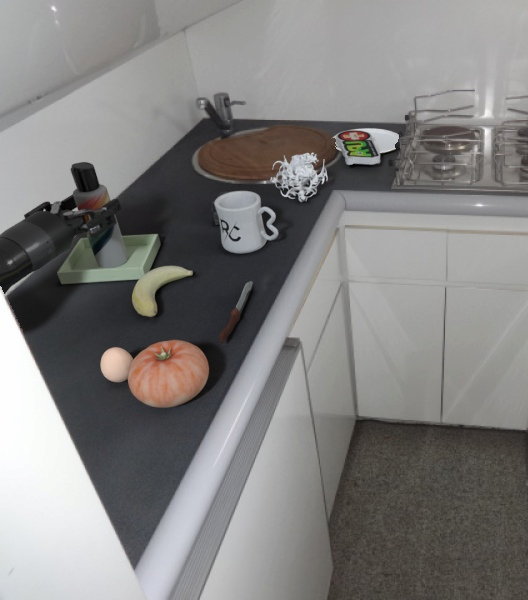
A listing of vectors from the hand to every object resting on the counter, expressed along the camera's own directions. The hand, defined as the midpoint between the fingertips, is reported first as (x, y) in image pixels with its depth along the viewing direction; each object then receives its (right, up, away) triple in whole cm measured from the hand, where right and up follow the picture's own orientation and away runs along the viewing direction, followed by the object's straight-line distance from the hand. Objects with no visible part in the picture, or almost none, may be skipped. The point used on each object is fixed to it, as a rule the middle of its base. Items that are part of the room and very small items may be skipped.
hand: (98, 201), depth 108 cm
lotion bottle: (0, -11, +6) cm, 13 cm away
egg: (+14, -30, -21) cm, 40 cm away
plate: (+47, +26, +59) cm, 80 cm away
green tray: (0, -11, +6) cm, 13 cm away
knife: (+28, -21, -8) cm, 36 cm away
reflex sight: (+17, +1, +24) cm, 29 cm away
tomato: (+23, -32, -23) cm, 46 cm away
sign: (+50, +24, +51) cm, 75 cm away
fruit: (+13, -18, -3) cm, 22 cm away
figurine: (+31, +17, +27) cm, 45 cm away
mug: (+26, -7, +12) cm, 29 cm away
